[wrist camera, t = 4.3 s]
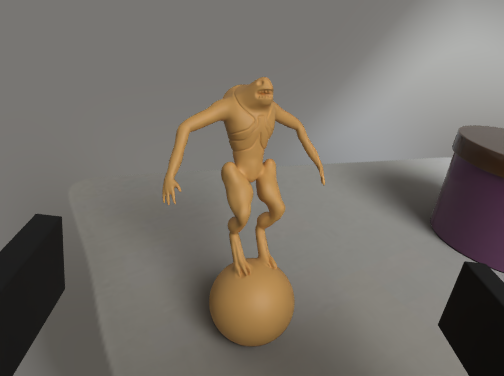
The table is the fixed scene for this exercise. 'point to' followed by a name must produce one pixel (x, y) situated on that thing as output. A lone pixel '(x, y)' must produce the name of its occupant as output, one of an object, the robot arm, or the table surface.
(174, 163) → the figurine
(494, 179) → the jar
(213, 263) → the table surface
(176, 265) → the table surface
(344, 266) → the table surface
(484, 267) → the robot arm
